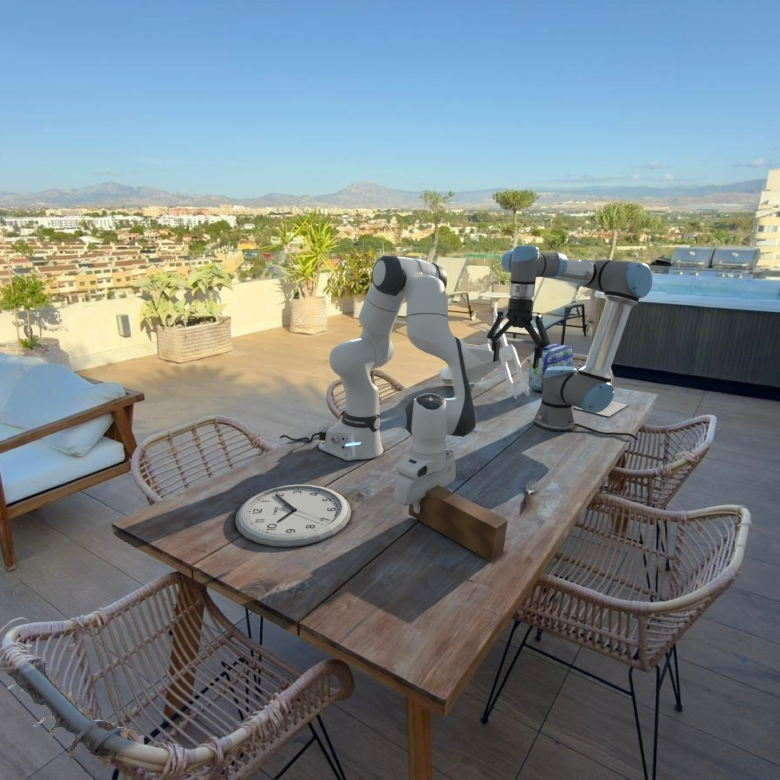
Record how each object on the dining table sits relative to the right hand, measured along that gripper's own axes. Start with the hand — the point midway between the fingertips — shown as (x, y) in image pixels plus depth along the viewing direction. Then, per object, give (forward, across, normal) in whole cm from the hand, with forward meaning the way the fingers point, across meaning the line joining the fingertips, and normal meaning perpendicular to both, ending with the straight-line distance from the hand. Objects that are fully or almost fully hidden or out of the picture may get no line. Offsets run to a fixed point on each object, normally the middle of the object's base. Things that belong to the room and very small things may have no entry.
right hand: (515, 364), depth 167 cm
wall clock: (+32, -28, -71) cm, 83 cm away
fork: (+32, +18, -24) cm, 43 cm away
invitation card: (+32, +11, +72) cm, 80 cm away
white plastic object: (+32, -40, +57) cm, 77 cm away
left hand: (+28, +1, -52) cm, 59 cm away
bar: (+31, +10, -53) cm, 62 cm away
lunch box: (+32, -17, +84) cm, 92 cm away
